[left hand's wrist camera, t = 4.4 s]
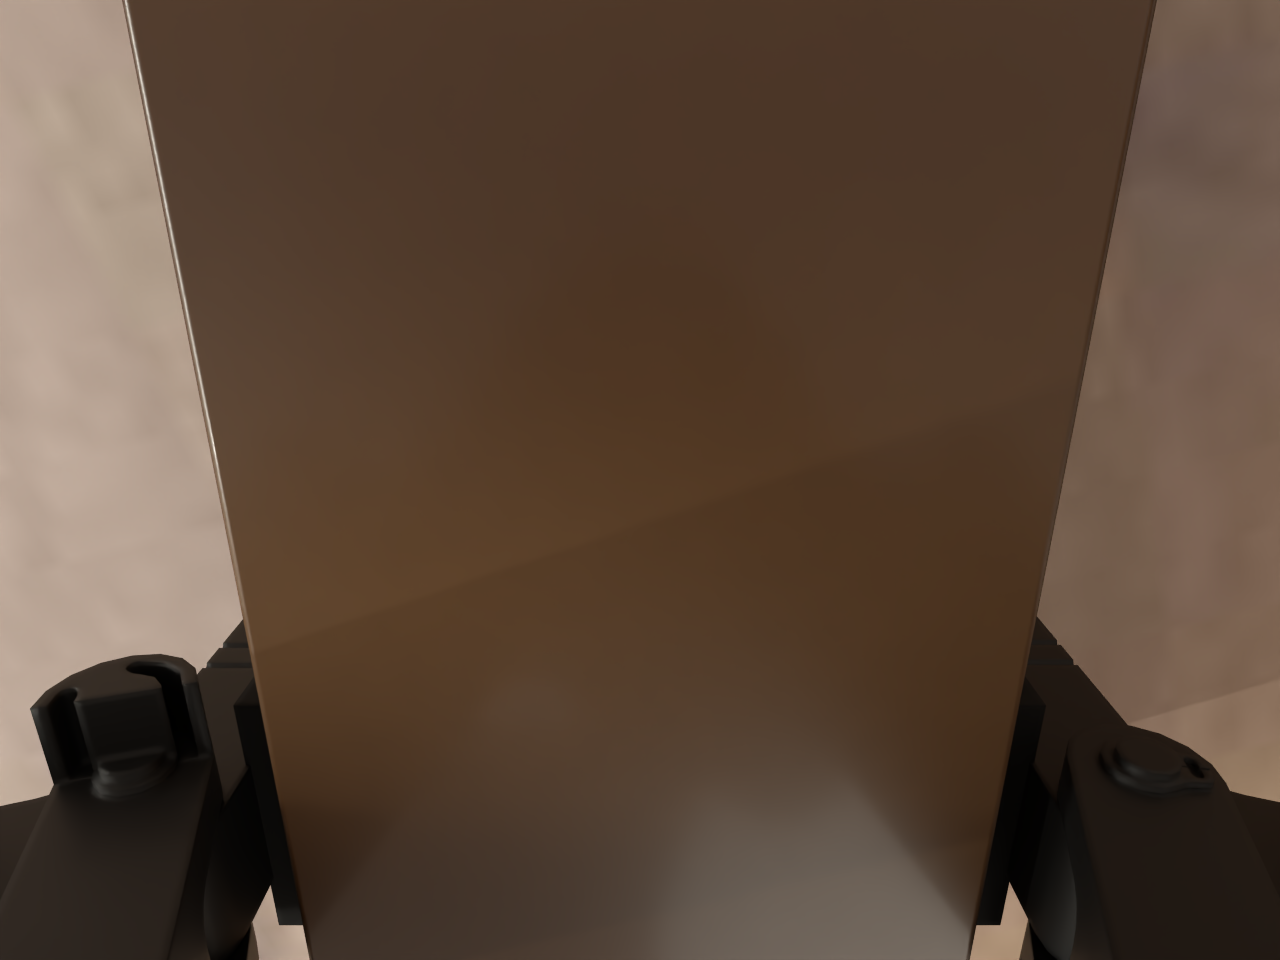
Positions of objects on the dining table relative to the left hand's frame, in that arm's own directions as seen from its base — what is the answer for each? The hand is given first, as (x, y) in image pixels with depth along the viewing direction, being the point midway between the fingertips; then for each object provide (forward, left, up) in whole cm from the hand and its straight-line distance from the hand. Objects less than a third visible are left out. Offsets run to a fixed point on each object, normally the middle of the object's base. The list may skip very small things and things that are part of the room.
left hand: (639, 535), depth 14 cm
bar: (+19, +4, 0) cm, 20 cm away
